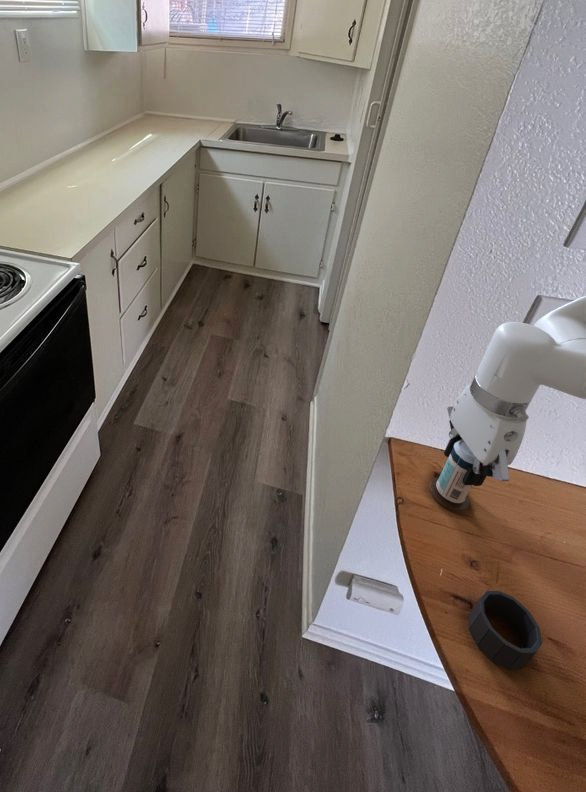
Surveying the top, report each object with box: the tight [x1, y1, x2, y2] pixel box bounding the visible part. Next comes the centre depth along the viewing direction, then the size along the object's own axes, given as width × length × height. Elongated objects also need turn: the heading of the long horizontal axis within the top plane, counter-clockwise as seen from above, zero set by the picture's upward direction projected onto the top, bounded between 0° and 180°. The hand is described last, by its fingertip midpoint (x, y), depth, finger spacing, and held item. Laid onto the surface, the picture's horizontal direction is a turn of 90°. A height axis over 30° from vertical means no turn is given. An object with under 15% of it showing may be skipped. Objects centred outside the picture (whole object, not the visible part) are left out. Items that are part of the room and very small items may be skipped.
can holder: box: [467, 590, 543, 671], centre depth 60 cm, size 7×7×5 cm
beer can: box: [436, 440, 484, 503], centre depth 77 cm, size 5×5×12 cm
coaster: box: [428, 476, 470, 513], centre depth 80 cm, size 6×6×1 cm
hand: (462, 468), depth 76 cm, fingers closed on beer can, 4 cm apart
